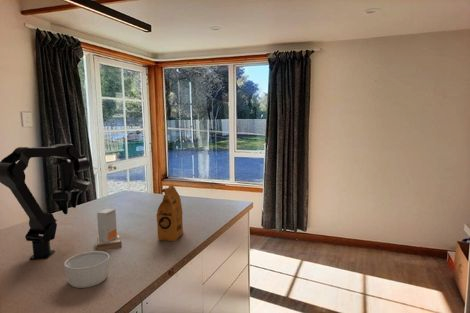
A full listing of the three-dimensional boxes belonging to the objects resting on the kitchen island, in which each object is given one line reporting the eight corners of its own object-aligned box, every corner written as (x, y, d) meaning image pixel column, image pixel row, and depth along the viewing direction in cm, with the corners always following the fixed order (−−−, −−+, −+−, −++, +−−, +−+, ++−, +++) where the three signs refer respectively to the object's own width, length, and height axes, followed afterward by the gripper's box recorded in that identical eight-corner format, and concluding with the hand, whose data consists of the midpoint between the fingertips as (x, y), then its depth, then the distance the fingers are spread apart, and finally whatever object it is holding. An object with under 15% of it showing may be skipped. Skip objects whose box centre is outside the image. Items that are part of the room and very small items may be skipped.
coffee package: (153, 241, 135) (150, 189, 133) (165, 230, 148) (162, 183, 145) (176, 242, 134) (174, 189, 131) (186, 231, 146) (184, 183, 143)
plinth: (121, 247, 130) (121, 241, 129) (97, 251, 126) (96, 245, 126) (120, 239, 138) (120, 234, 138) (97, 243, 135) (97, 237, 134)
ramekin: (108, 266, 114) (106, 247, 113) (114, 283, 102) (112, 261, 101) (65, 276, 107) (63, 256, 106) (66, 295, 96) (64, 272, 95)
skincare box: (107, 242, 128) (105, 213, 127) (98, 241, 130) (96, 212, 128) (117, 237, 134) (115, 209, 132) (109, 236, 135) (107, 208, 134)
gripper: (79, 177, 126) (82, 216, 128) (94, 169, 145) (97, 203, 147) (48, 178, 125) (52, 218, 127) (68, 170, 143) (71, 205, 145)
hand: (70, 210), depth 137 cm, fingers open, 9 cm apart
